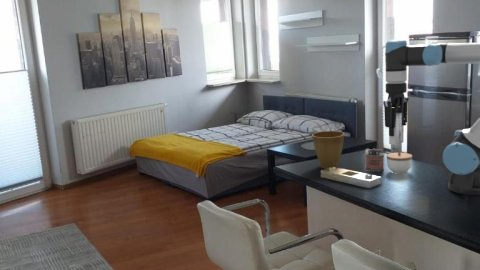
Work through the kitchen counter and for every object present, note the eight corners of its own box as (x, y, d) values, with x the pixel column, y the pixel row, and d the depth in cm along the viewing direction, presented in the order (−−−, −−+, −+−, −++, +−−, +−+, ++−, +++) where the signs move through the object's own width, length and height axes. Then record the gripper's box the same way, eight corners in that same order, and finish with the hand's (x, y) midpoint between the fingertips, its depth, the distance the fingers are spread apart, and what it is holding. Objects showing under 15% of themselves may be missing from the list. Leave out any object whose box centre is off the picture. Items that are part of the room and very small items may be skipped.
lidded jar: (415, 175, 208) (415, 153, 207) (390, 176, 209) (390, 155, 207) (407, 168, 219) (407, 148, 217) (383, 169, 219) (383, 149, 217)
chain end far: (361, 179, 207) (361, 170, 206) (349, 183, 202) (349, 174, 201) (332, 173, 219) (332, 164, 218) (320, 176, 214) (320, 168, 213)
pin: (403, 151, 186) (403, 112, 183) (397, 153, 184) (397, 114, 181) (394, 149, 189) (394, 111, 186) (388, 151, 187) (388, 113, 184)
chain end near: (381, 183, 199) (381, 174, 198) (369, 188, 194) (369, 178, 193) (350, 177, 211) (350, 168, 210) (338, 181, 206) (338, 172, 205)
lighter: (364, 170, 219) (364, 149, 217) (366, 168, 222) (366, 147, 220) (383, 172, 216) (382, 150, 214) (384, 170, 219) (384, 148, 217)
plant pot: (323, 161, 240) (322, 129, 237) (350, 165, 230) (350, 132, 227) (306, 168, 229) (305, 135, 226) (334, 172, 219) (333, 138, 216)
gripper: (400, 79, 190) (400, 138, 194) (373, 84, 179) (374, 146, 183) (417, 80, 184) (417, 140, 188) (391, 84, 173) (392, 148, 178)
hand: (396, 143), depth 186 cm, fingers closed on pin, 4 cm apart
